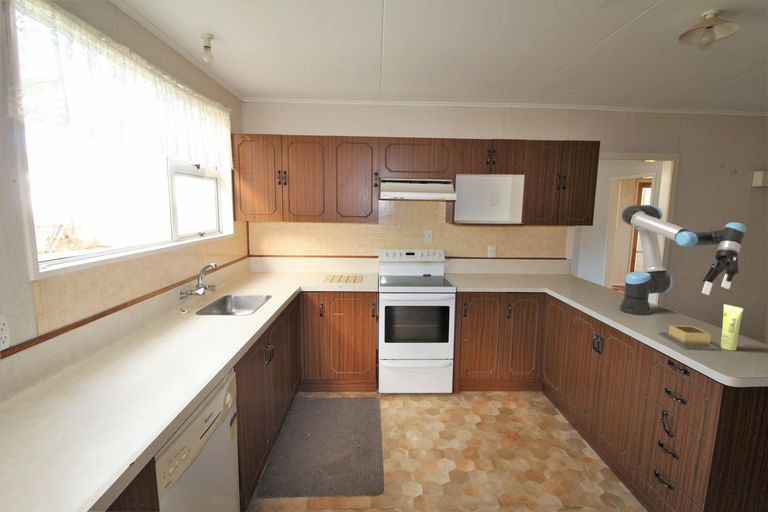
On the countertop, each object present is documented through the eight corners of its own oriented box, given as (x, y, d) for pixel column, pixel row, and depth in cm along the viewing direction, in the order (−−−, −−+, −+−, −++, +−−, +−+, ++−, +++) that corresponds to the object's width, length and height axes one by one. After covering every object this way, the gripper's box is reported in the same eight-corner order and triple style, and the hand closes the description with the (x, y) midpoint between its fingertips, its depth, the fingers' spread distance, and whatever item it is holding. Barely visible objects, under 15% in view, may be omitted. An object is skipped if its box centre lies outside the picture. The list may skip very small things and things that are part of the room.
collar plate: (658, 334, 171) (660, 322, 170) (690, 335, 169) (691, 323, 168) (685, 349, 153) (687, 336, 152) (720, 350, 151) (722, 337, 151)
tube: (718, 348, 154) (724, 306, 151) (717, 345, 157) (723, 303, 155) (736, 352, 150) (743, 308, 147) (735, 348, 154) (741, 305, 151)
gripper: (757, 246, 155) (744, 288, 151) (718, 262, 178) (706, 299, 174) (737, 240, 157) (724, 281, 153) (701, 257, 180) (689, 293, 176)
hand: (714, 291), depth 163 cm, fingers open, 13 cm apart
